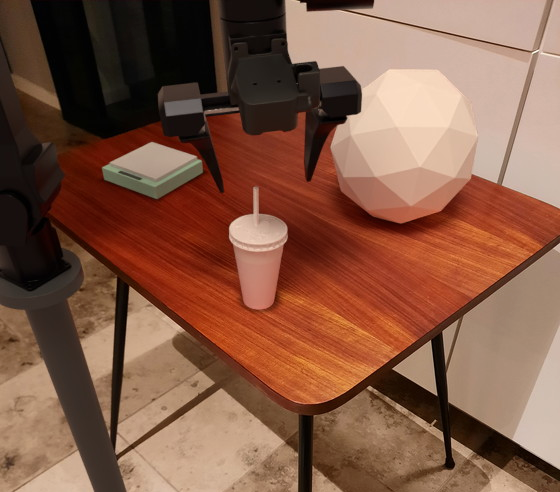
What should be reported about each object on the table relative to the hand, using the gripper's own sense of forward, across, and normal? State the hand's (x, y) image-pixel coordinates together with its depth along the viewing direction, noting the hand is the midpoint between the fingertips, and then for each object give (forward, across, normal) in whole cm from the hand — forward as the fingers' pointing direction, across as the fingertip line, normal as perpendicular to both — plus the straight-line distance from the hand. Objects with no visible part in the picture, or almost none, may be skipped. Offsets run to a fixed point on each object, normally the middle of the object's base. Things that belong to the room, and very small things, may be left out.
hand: (265, 185), depth 59 cm
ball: (+15, +21, +17) cm, 30 cm away
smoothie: (+14, -2, -2) cm, 14 cm away
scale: (+12, -14, +32) cm, 37 cm away
